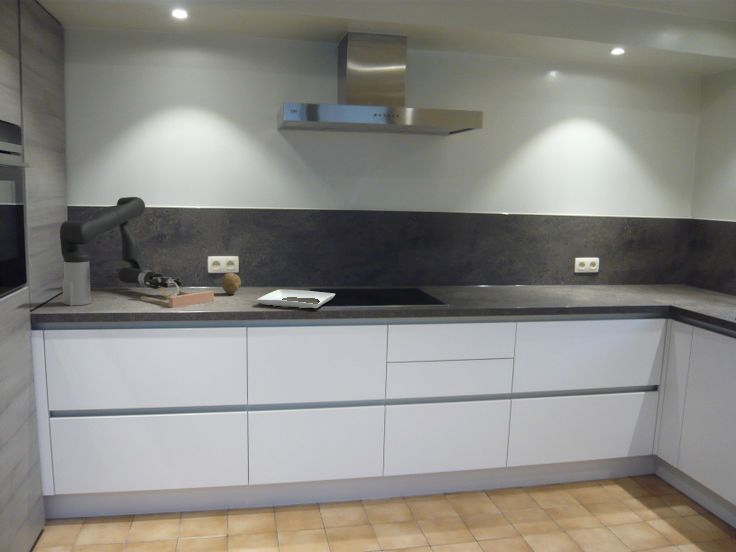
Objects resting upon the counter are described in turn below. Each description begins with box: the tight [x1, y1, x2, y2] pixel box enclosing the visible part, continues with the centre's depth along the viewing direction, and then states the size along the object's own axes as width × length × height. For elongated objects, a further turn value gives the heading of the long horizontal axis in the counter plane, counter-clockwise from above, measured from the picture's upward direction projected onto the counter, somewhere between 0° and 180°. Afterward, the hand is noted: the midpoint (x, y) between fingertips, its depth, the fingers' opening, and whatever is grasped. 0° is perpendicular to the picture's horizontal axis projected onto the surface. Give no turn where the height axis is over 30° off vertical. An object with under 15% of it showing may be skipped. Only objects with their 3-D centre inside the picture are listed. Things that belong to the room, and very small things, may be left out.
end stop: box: [168, 290, 215, 309], centre depth 248 cm, size 20×2×4 cm, turn 143°
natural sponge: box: [220, 272, 242, 296], centre depth 271 cm, size 9×9×10 cm
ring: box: [161, 279, 180, 298], centre depth 256 cm, size 7×3×8 cm, turn 99°
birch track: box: [140, 290, 194, 308], centre depth 254 cm, size 20×20×2 cm
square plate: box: [256, 289, 336, 309], centre depth 257 cm, size 27×27×4 cm
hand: (173, 284), depth 254 cm, fingers closed on ring, 6 cm apart
